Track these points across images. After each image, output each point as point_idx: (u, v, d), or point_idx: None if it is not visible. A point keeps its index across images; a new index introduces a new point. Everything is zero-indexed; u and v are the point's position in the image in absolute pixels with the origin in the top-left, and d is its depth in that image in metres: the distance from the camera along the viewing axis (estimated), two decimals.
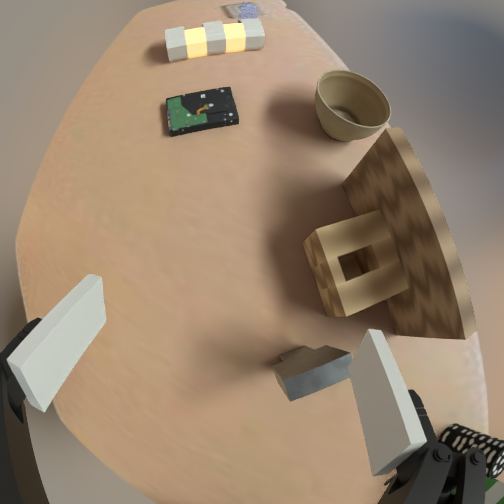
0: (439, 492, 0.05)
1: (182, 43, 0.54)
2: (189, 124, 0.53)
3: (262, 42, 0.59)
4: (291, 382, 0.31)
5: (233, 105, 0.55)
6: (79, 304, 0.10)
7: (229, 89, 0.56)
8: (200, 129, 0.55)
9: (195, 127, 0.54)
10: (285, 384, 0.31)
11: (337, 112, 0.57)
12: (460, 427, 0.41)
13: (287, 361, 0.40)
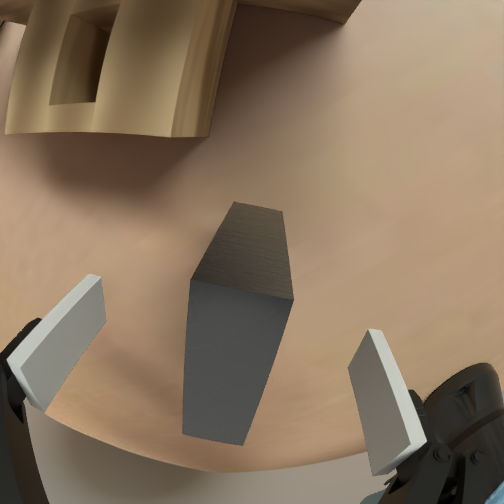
0: (439, 493, 0.05)
1: None
2: None
3: None
4: (196, 429, 0.11)
5: None
6: (79, 304, 0.10)
7: None
8: None
9: None
10: (195, 435, 0.12)
11: None
12: None
13: None
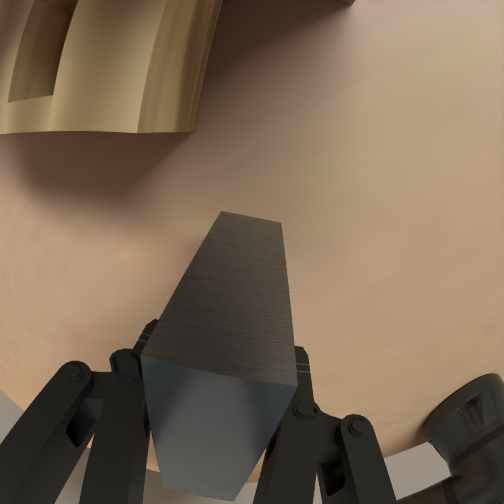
0: (317, 452, 0.06)
1: None
2: None
3: None
4: (178, 486, 0.08)
5: None
6: None
7: None
8: None
9: None
10: (178, 489, 0.08)
11: None
12: None
13: None
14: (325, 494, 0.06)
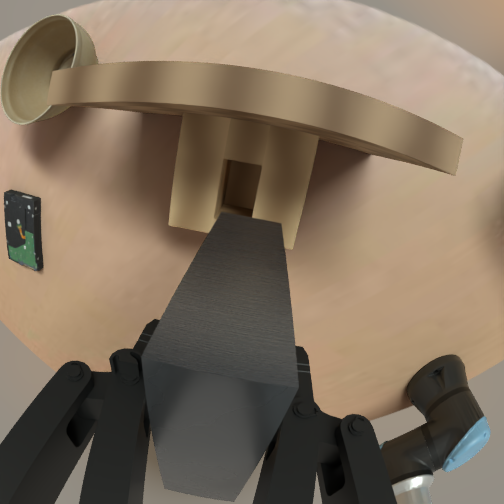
0: (317, 452, 0.06)
1: None
2: (33, 251, 0.42)
3: None
4: (178, 487, 0.08)
5: (21, 199, 0.38)
6: None
7: (6, 194, 0.38)
8: (39, 239, 0.43)
9: (36, 246, 0.42)
10: (179, 490, 0.08)
11: None
12: None
13: None
14: (325, 494, 0.06)
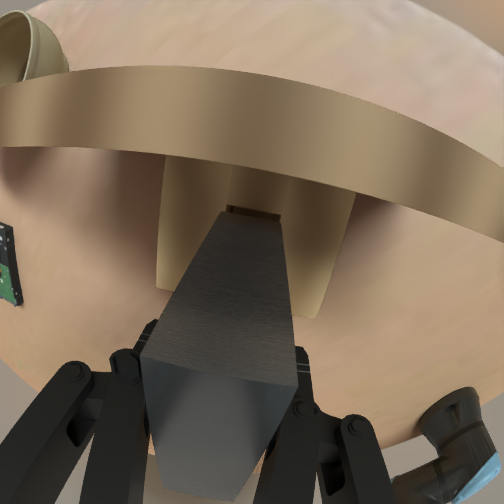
0: (317, 452, 0.06)
1: None
2: (10, 286, 0.34)
3: None
4: (178, 487, 0.08)
5: None
6: None
7: None
8: (16, 272, 0.35)
9: (13, 280, 0.34)
10: (178, 490, 0.08)
11: None
12: None
13: None
14: (325, 494, 0.06)
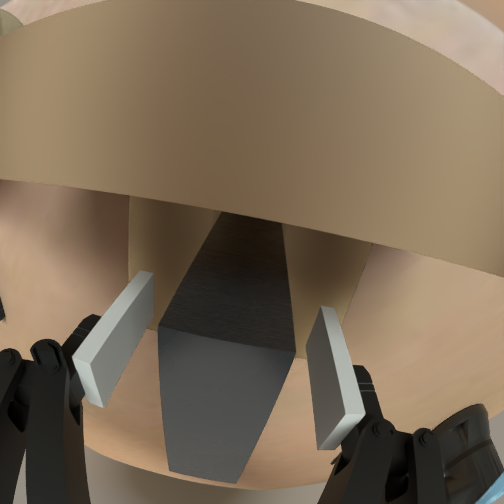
0: (387, 470, 0.06)
1: None
2: None
3: None
4: (183, 468, 0.09)
5: None
6: (137, 299, 0.12)
7: None
8: None
9: None
10: (183, 472, 0.09)
11: None
12: None
13: None
14: (384, 502, 0.06)
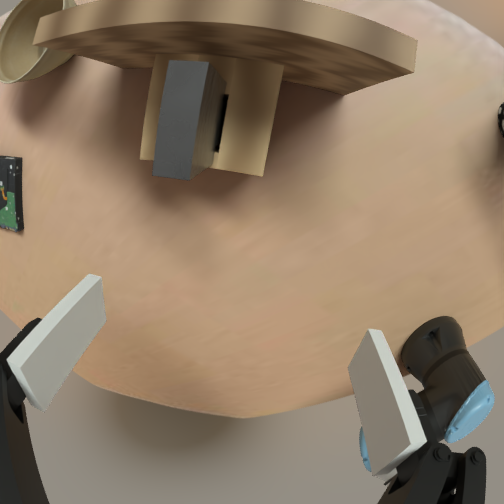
0: (439, 493, 0.05)
1: None
2: (13, 211, 0.40)
3: None
4: (161, 165, 0.20)
5: (4, 160, 0.35)
6: (79, 304, 0.10)
7: None
8: (20, 199, 0.40)
9: (17, 205, 0.40)
10: (160, 174, 0.20)
11: None
12: None
13: None
14: None
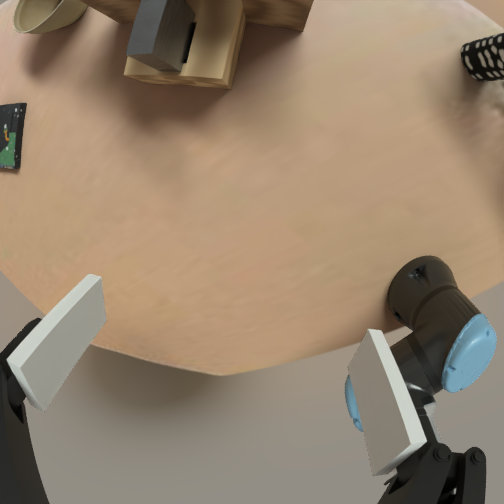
0: (439, 493, 0.05)
1: None
2: (13, 149, 0.41)
3: None
4: (132, 46, 0.20)
5: (10, 105, 0.37)
6: (79, 304, 0.10)
7: None
8: (20, 139, 0.41)
9: (17, 144, 0.41)
10: (131, 53, 0.21)
11: None
12: (471, 44, 0.27)
13: None
14: None
